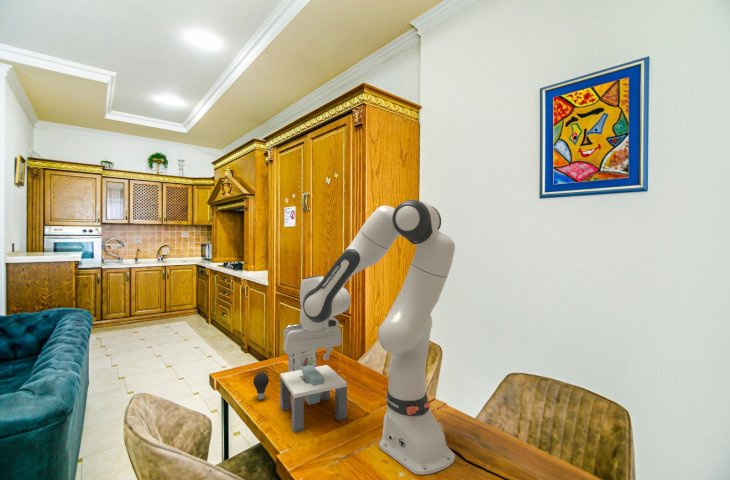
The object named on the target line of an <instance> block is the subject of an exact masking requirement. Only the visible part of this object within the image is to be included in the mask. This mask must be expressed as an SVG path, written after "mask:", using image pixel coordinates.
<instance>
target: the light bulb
mask: <svg viewBox="0 0 730 480" xmlns="http://www.w3.org/2000/svg"><path fill="white" fill-rule="evenodd" d="M269 381H270V377H269V375H268V374H267V373H266V372H262V371H260V372H258V373H256V375H254V377H253V381H252V382H253V386H254V388H255V390H256V392H257V399H258V400H259V401H262V400H263V399H264V398H265V392H266V390H267V389H266V388H267V387H268V384H269Z"/></svg>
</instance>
